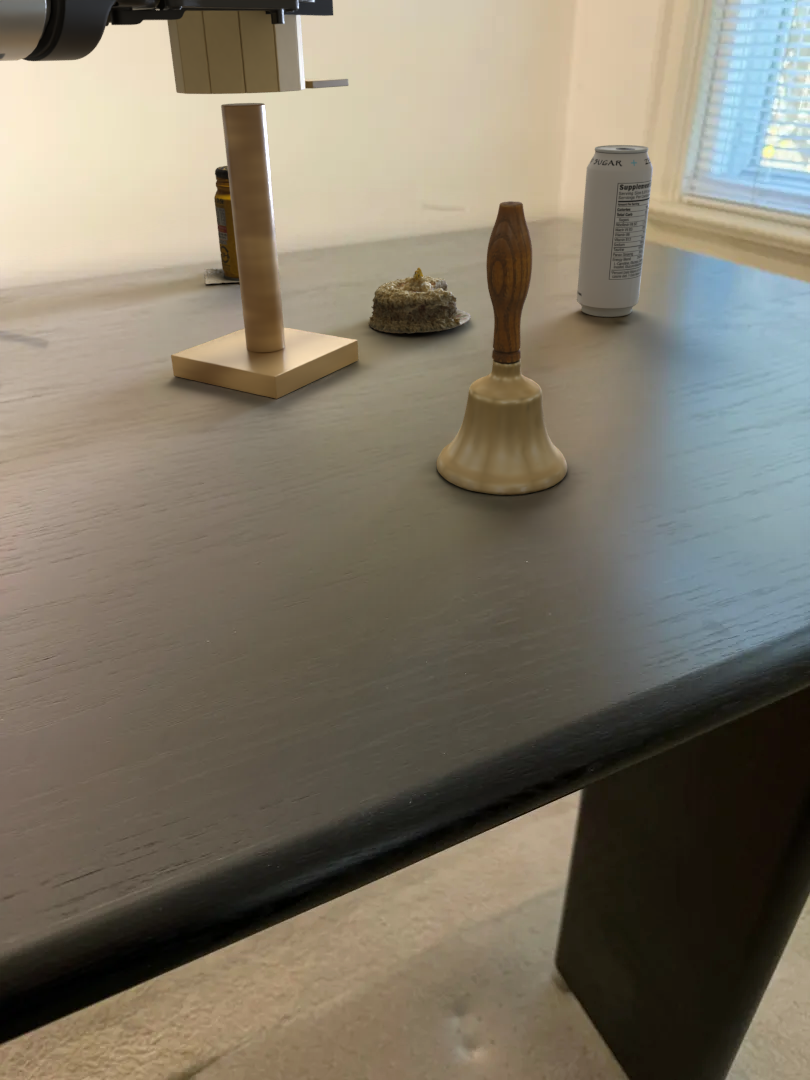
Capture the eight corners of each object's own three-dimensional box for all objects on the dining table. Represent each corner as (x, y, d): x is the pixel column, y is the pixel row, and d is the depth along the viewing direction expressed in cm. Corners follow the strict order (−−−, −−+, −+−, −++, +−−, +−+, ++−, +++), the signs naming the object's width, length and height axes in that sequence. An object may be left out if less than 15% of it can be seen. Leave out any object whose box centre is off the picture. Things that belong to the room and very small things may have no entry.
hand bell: (582, 492, 53) (607, 212, 45) (444, 498, 53) (446, 216, 45) (551, 438, 60) (568, 189, 53) (429, 444, 60) (429, 193, 52)
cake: (379, 347, 81) (372, 288, 79) (361, 320, 90) (354, 266, 87) (483, 330, 82) (480, 271, 80) (456, 305, 91) (452, 251, 88)
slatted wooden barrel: (151, 93, 63) (130, -59, 59) (272, 85, 73) (262, -45, 69) (247, 94, 59) (232, -70, 54) (362, 86, 69) (357, -54, 64)
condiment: (280, 280, 102) (270, 169, 97) (205, 285, 101) (191, 172, 95) (275, 267, 109) (265, 161, 103) (204, 271, 107) (191, 164, 101)
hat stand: (173, 376, 73) (133, 107, 64) (260, 342, 81) (236, 99, 72) (276, 399, 68) (250, 110, 58) (358, 360, 76) (347, 101, 66)
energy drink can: (606, 299, 93) (621, 143, 85) (650, 311, 88) (669, 147, 81) (563, 308, 90) (574, 147, 82) (605, 321, 85) (621, 152, 78)
